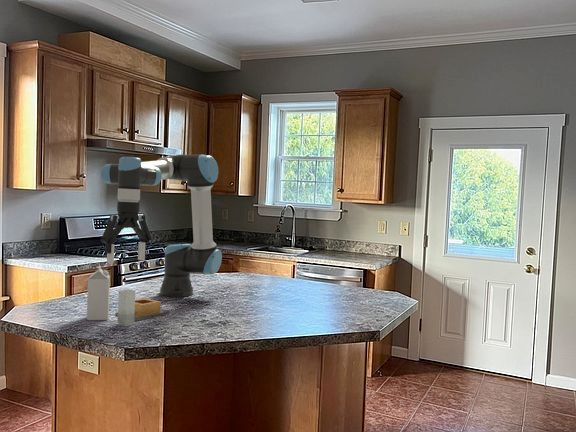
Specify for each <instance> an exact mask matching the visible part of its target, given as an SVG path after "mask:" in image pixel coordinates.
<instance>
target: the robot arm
mask: <svg viewBox="0 0 576 432" xmlns="http://www.w3.org/2000/svg"><path fill="white" fill-rule="evenodd" d="M218 176H219V165H218V162H217V161H216V160H215V158H214V157H213V156H212V155H209V154H208V155H207V154H176V155H175V154H174V155H170V156H163V157H159V158H158V159H157V160H149V161H148V160H146V161H142V159H141V158H140V157H135V156H133V157H132V156H122V157H120V158H119V159H118V163H107V164H104V165H103V166H102V167H101V169H100V178H101V180H102V182H103V183H104V184H109V185H117V200H118V201H117V204H116V205H117V207H116V211H117V214H110V215H109V219H108V223H107V225H106V228H105V230H104V232H103V233H102V236H101V238H100V242H102V243H103V244H105V254H106V263H108V264H115V263H114V262H115V244H114V242H115V240H116V238H118V236H119V234H120V233H121V232H122V230H124V229H128V228H129V229H130V228H131V229H132V230H133V231H134V233H135V234H136V236H137V238H138V239H139V240H140V241H139V242H138V250H137V251H138V253H137V254H138V255H137V260H138V261H145V260H146V251H147V243H149V242H150V241H152V236H151V232H150V230H149V227H148V225H147V221H146V215H144V214H139V213H140V202H139V201H140V200H141V186H147V187H153V186H154V187H155V186H158V184H160V183H161V181H162V180H173V181H180V182H181V181H183V182H186V186H187V187H188V189H190V194H191V195H190V198H191V201H190V202H191V215H192V216H191V217H192V218H191V219H192V234H193V237H192V238H193V242H192V243H181V244H179V243H177V244H169V245H167V246H166V247H165V250H164V251H165V253H164V276H163V280H162V284H161V286H160V288H159V294H160V295H162V296H163V297H164V296H165V297H175V298H177V297H178V298H179V297H188V296H189V297H190V296H192V295H193V294H194V287H193V285H192V281H191V274H200V275H206V276H208V275H209V276H212V275H215V274H217V272H218V271H219V269H220V268H221V265H222V262H223V261H222V259H223V253H222V251H221V250H220V249H218V247H217V243H216V242H215V241H214V238H213V237H214V236H213V232H214V231H213V217H212V216H213V214H212V213H213V212H212V195H211V194H212V191H211V190H212V188H213V186H214V185H215V184H214V183H215V182H216V181H217V180H218V178H219V177H218Z"/></svg>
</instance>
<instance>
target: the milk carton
mask: <svg viewBox="0 0 576 432" xmlns="http://www.w3.org/2000/svg"><path fill="white" fill-rule="evenodd" d="M101 267H102V266H101V265H99V267H98V269H97V270H96V271H94V272H93V273H92V274H91V275H90V276H89V277H88V279H87V298H86V299H87V301H86V321H108V319H109V317H110V316H109V315H110V287H111V275H110V272H109V271H108V270H107V269H102V268H101Z"/></svg>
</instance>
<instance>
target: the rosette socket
mask: <svg viewBox="0 0 576 432" xmlns="http://www.w3.org/2000/svg"><path fill="white" fill-rule="evenodd" d="M161 304H162V302H161V301H160V300H155V299H149V298H145V297H143V298H139V299H135V314H134V321H137V322H138V321H143V320H147V319H148V320H149V319H151V318H156V317H160V316H164V315H170V310H166V309H162V308H161ZM115 317H118V311H117V312H115Z"/></svg>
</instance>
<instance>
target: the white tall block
mask: <svg viewBox="0 0 576 432" xmlns="http://www.w3.org/2000/svg"><path fill="white" fill-rule="evenodd" d="M117 296H118V297H117V299H118V300H117V302H118V304H117V312H118V316H117V325H118V326H123V327H129V326H133V325H135V320H134V314H135V300H136V290H135V289H134V290H133V289H128V288H127V289H120V290H118V295H117Z"/></svg>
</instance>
